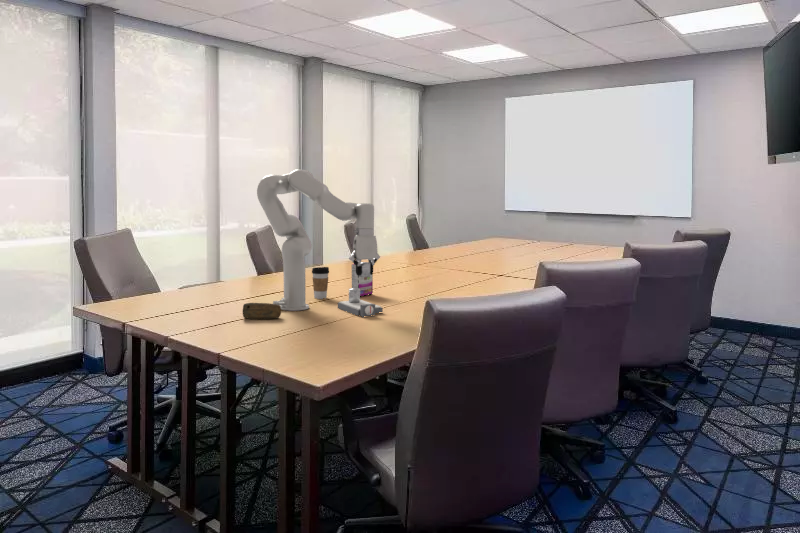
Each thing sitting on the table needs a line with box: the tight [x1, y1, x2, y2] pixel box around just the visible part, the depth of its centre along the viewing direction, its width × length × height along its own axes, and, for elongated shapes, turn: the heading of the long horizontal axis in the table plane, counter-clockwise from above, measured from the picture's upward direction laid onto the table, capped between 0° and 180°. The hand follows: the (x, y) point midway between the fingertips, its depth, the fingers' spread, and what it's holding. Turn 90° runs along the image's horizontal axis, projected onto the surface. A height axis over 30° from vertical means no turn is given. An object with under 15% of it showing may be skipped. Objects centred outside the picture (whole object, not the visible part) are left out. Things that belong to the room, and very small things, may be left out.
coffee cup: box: [311, 266, 330, 300], centre depth 288 cm, size 8×8×15 cm
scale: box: [337, 299, 384, 318], centre depth 258 cm, size 12×22×5 cm, turn 33°
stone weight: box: [242, 302, 282, 320], centre depth 241 cm, size 15×7×7 cm, turn 100°
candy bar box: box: [351, 263, 374, 297], centre depth 296 cm, size 11×5×16 cm, turn 143°
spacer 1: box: [348, 287, 361, 303], centre depth 263 cm, size 5×5×6 cm
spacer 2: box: [359, 261, 371, 277], centre depth 254 cm, size 5×5×6 cm
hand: (364, 274), depth 255 cm, fingers closed on spacer 2, 5 cm apart
